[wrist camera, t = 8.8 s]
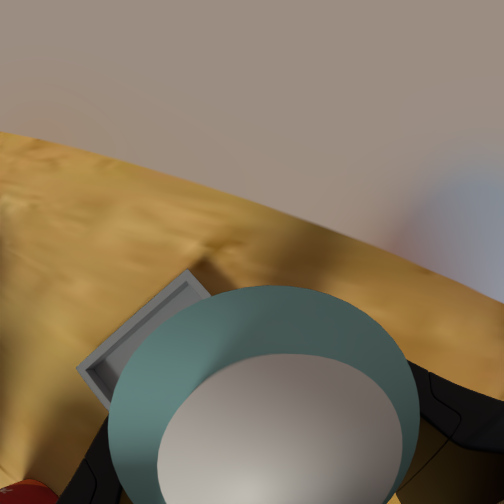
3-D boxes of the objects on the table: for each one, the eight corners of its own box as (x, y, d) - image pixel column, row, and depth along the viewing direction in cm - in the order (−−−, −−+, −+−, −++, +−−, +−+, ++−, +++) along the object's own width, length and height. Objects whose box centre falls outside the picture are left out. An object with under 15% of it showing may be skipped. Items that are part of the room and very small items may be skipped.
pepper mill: (262, 440, 13) (344, 605, 2) (173, 397, 13) (40, 502, 2) (306, 357, 15) (493, 354, 3) (219, 313, 15) (199, 197, 4)
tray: (184, 475, 17) (181, 485, 15) (86, 367, 19) (75, 367, 17) (293, 384, 20) (300, 387, 19) (190, 275, 22) (187, 268, 20)
